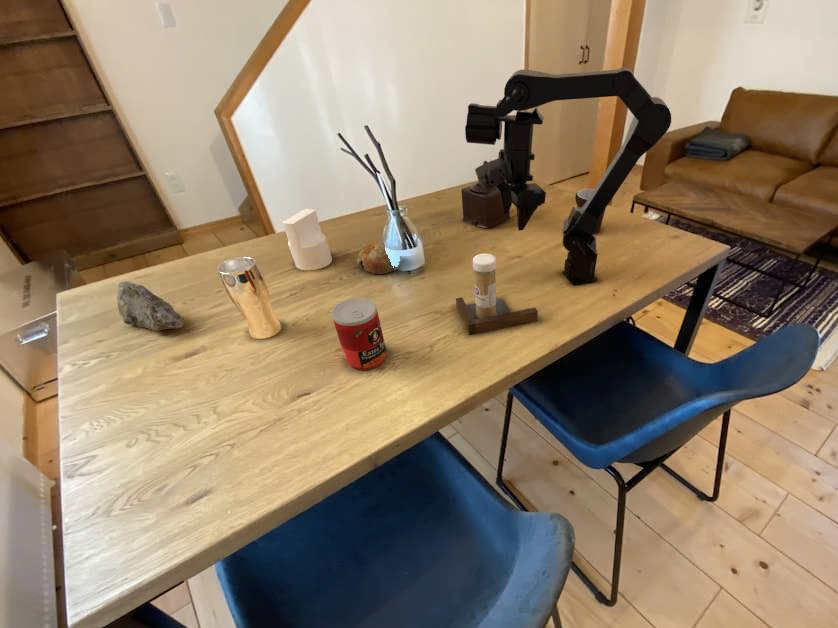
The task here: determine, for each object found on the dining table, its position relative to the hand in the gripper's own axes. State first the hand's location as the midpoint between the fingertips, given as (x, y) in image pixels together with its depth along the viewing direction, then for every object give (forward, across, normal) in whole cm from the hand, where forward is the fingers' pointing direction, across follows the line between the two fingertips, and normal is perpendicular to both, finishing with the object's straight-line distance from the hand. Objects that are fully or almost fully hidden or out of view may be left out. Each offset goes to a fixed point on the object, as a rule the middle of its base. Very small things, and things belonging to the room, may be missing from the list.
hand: (513, 221), depth 99 cm
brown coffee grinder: (+14, -30, +6) cm, 34 cm away
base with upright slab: (+16, -24, -45) cm, 53 cm away
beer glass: (+16, +4, -56) cm, 58 cm away
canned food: (+14, +21, -37) cm, 45 cm away
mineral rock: (+17, -5, -78) cm, 80 cm away
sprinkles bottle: (+13, +16, -12) cm, 23 cm away
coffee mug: (+12, -16, +31) cm, 37 cm away
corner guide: (+13, +16, -9) cm, 22 cm away
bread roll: (+15, -15, -29) cm, 36 cm away
